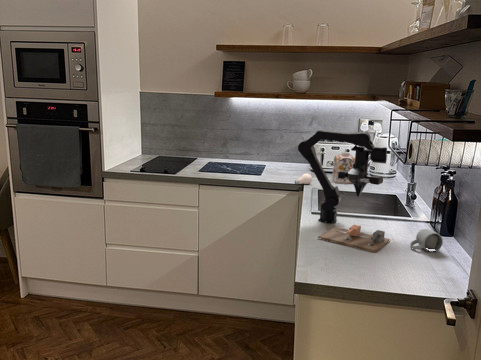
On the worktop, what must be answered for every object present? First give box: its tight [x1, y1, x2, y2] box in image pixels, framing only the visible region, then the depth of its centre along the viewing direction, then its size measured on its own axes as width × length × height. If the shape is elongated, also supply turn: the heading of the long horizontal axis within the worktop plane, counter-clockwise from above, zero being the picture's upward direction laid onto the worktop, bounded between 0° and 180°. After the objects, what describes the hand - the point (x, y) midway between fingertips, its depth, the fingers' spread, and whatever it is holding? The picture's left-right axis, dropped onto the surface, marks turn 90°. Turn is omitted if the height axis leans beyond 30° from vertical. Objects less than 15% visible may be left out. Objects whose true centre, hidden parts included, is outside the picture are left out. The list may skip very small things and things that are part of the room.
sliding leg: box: [347, 224, 362, 239], centre depth 194 cm, size 3×10×3 cm, turn 145°
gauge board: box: [317, 225, 391, 253], centre depth 194 cm, size 24×16×4 cm, turn 55°
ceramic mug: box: [409, 228, 444, 252], centre depth 186 cm, size 11×8×8 cm
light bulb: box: [294, 172, 313, 186], centre depth 285 cm, size 7×7×11 cm
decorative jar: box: [331, 151, 355, 184], centre depth 294 cm, size 12×12×18 cm
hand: (358, 196), depth 210 cm, fingers closed
